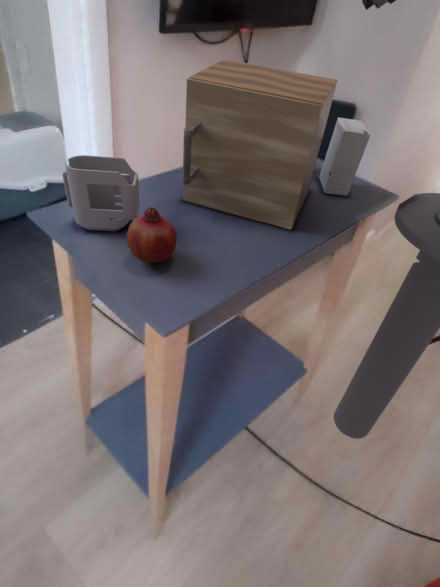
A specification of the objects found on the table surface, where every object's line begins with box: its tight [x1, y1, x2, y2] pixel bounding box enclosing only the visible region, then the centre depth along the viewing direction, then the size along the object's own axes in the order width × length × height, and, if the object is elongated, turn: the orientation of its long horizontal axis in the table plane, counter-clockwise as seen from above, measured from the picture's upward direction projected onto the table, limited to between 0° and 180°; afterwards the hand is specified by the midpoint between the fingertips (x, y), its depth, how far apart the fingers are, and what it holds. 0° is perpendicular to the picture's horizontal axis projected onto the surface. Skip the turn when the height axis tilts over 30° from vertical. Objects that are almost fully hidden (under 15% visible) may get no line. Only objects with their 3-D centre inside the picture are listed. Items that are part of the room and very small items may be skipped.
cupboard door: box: [181, 77, 322, 231], centre depth 71 cm, size 6×24×23 cm, turn 70°
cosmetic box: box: [318, 117, 371, 197], centre depth 89 cm, size 8×6×15 cm
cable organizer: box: [62, 154, 141, 232], centre depth 70 cm, size 7×12×12 cm, turn 93°
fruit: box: [125, 206, 178, 264], centre depth 64 cm, size 8×8×10 cm
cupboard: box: [188, 58, 338, 228], centre depth 80 cm, size 18×24×24 cm
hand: (372, 0), depth 64 cm, fingers closed
